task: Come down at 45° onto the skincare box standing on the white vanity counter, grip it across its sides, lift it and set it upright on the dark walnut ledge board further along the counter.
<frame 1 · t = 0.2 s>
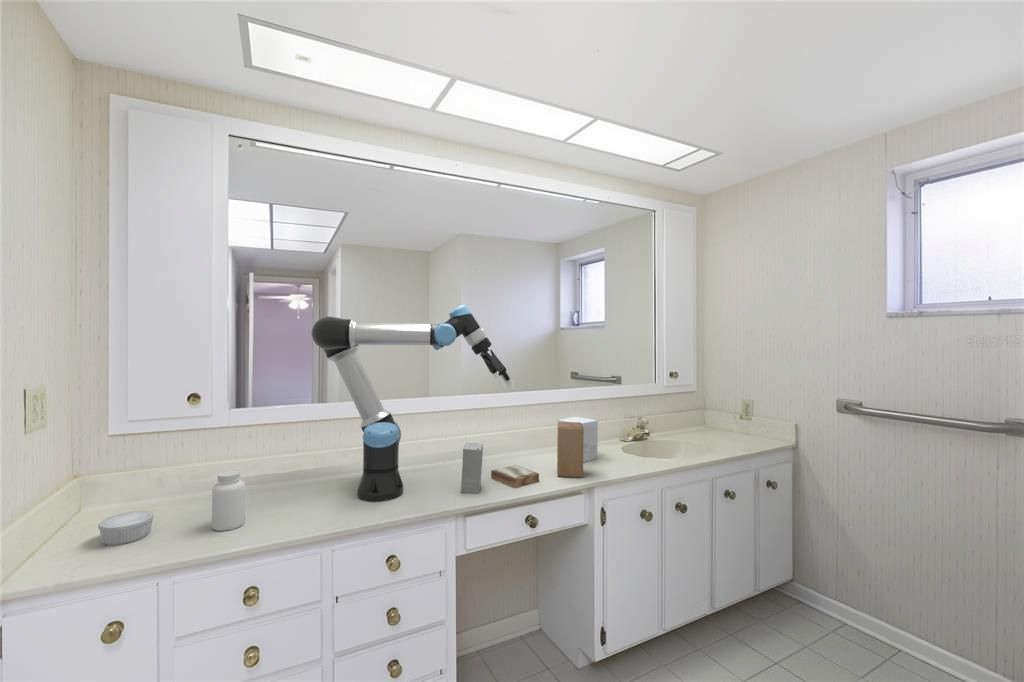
hand: (508, 386, 173), 35 cm above the worktop, tool tilted 35°, fingers open, 13 cm apart
wooden block: (569, 474, 175), on the worktop
skincare box: (472, 490, 156), on the worktop
ramekin: (126, 538, 117), on the worktop
pill bottle: (228, 526, 125), on the worktop
supplement box: (577, 458, 199), on the worktop
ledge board: (514, 479, 168), on the worktop
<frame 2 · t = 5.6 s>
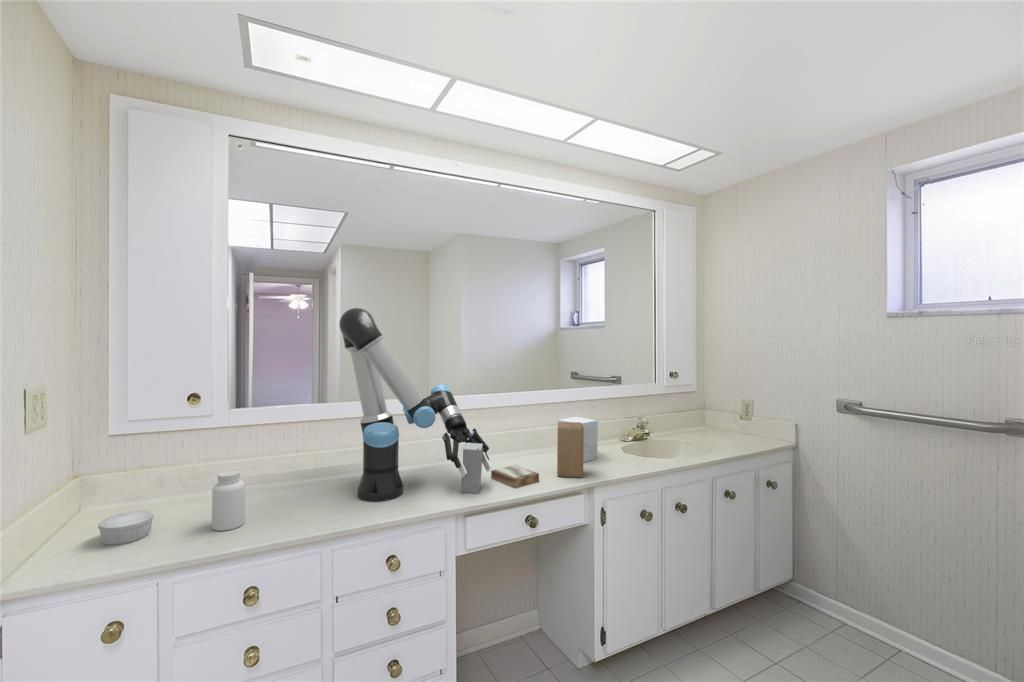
hand: (477, 472, 154), 7 cm above the worktop, tool tilted 45°, fingers closed on skincare box, 10 cm apart
skincare box: (472, 490, 156), on the worktop, touching gripper
everything else where it was.
when the fingers open (12 cm above the worktop, at t = 10.8 s): skincare box drops 2 cm, resting on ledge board.
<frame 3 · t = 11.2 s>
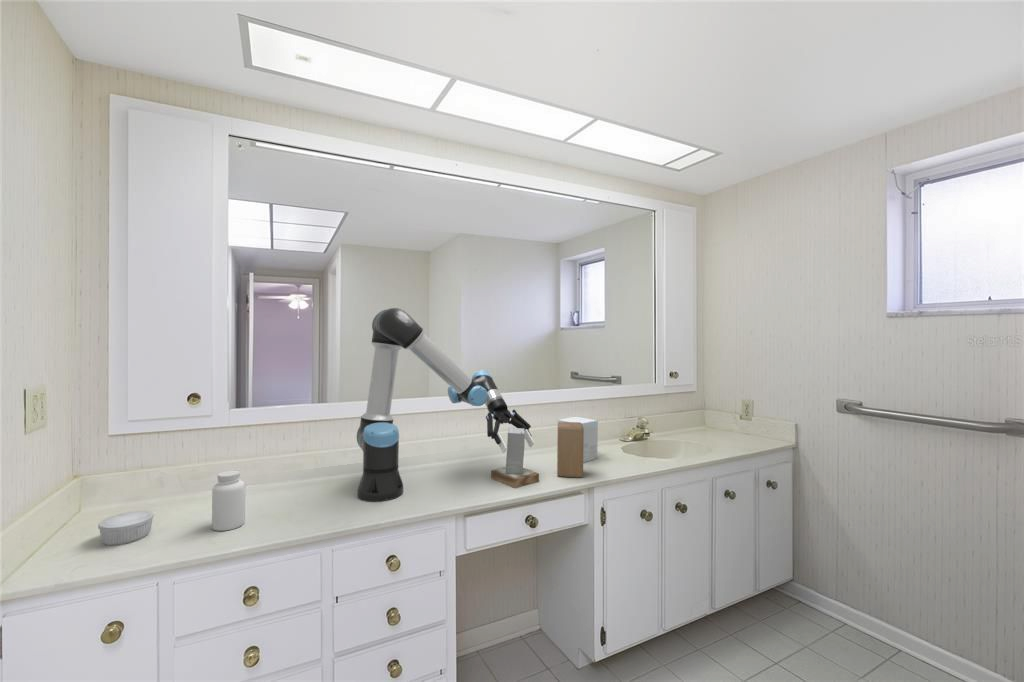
hand: (519, 447, 166), 13 cm above the worktop, tool tilted 45°, fingers open, 13 cm apart
skincare box: (515, 471, 168), point 3 cm above the worktop, touching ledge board
everything else where it was.
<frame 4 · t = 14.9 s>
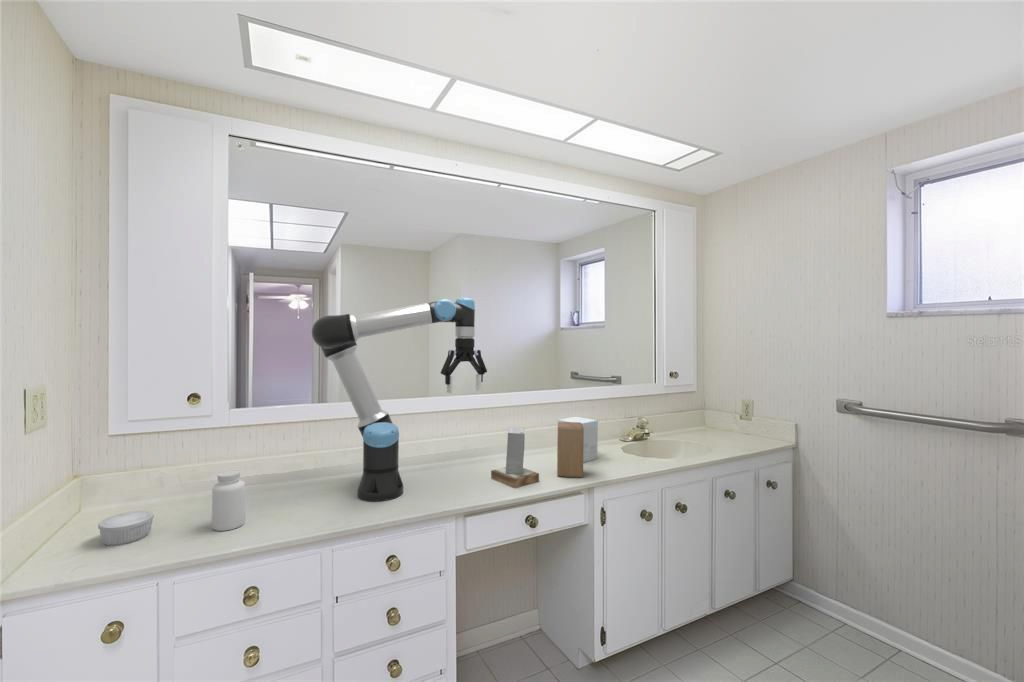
hand: (464, 391, 173), 33 cm above the worktop, tool pointing down, fingers open, 13 cm apart
nothing on the worktop moved.
at the end: skincare box inside the target area on the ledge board (0.1 cm from its centre), point 3.1 cm above the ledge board's base; skincare box tilted 0°; the gripper is holding nothing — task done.
